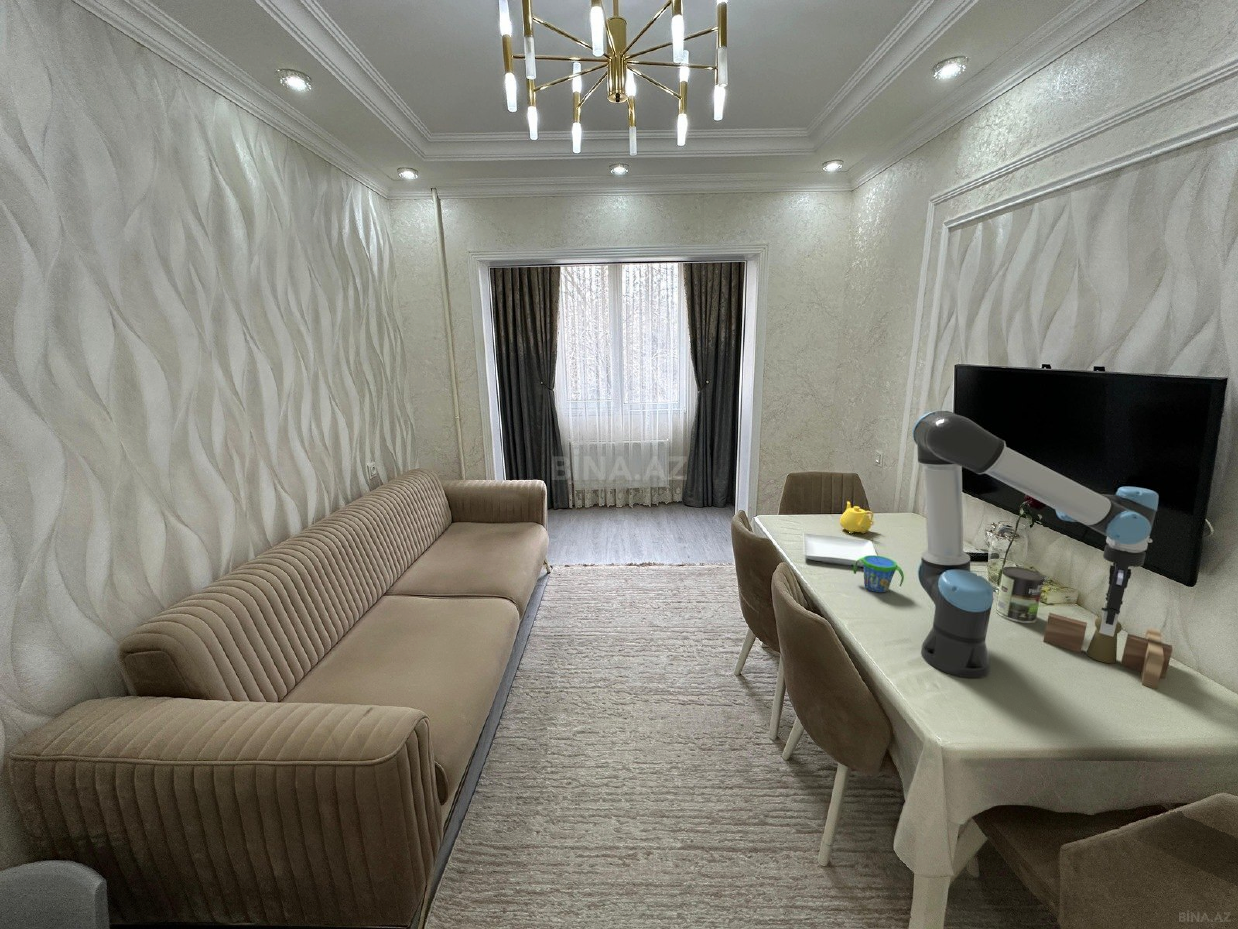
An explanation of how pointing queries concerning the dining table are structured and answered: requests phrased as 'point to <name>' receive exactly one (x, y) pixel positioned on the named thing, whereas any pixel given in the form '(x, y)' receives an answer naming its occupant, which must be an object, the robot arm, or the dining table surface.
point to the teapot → (856, 519)
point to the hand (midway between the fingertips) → (1106, 629)
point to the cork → (1103, 644)
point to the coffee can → (1019, 594)
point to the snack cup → (878, 572)
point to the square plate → (836, 549)
